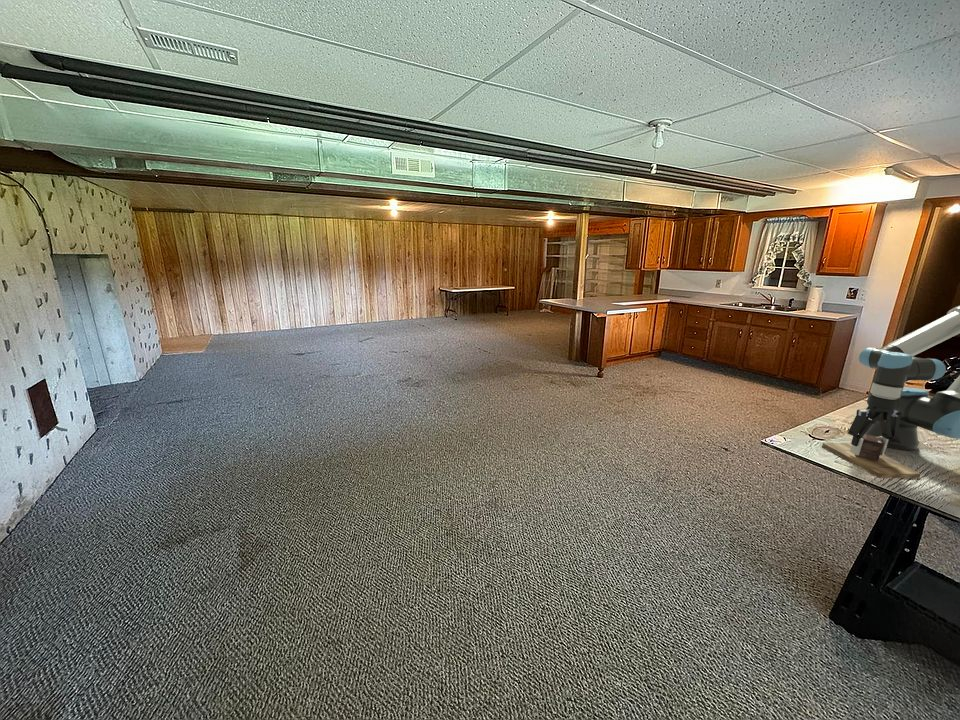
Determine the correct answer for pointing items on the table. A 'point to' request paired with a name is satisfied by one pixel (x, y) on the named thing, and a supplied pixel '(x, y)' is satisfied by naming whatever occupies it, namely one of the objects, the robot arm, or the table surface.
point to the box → (871, 447)
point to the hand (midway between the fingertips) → (866, 453)
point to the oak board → (873, 463)
